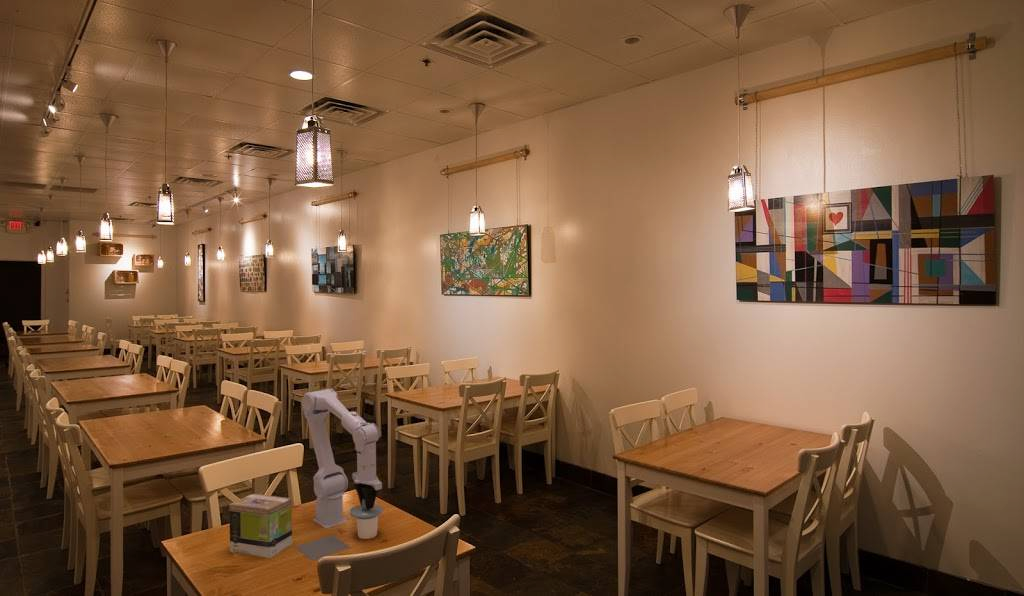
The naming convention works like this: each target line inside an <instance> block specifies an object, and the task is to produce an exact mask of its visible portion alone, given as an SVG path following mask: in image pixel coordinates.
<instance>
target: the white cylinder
mask: <svg viewBox="0 0 1024 596" xmlns="http://www.w3.org/2000/svg"><path fill="white" fill-rule="evenodd" d="M355 519H356V527H357V536H358V538H360V539H361V540H362V539H363V540H369V539H373V538H375V537H376V536H377V535H378V525H379V515H378V516H375V517H371V518H356V517H355Z"/></svg>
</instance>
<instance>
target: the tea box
mask: <svg viewBox="0 0 1024 596" xmlns="http://www.w3.org/2000/svg"><path fill="white" fill-rule="evenodd" d="M228 507H229V509H228V512H229V514H228V515H229V516H228V519H229V552H230V553H233V552H234V553H240V554H244V555H248V556H255V557H261V558H266V559H271V558H272V557H275V556H276V555H277V554H279V553H280V552H283V550H285V549H288V548H289V547H290V546H291V545H293V523H292V522H293V517H292V516H293V515H292V498H290V497H284V496H282V497H281V496H274V495H266V494H259V493H251V494H249V495H246V496H245V497H243V498H240V499H238V500H236V501H234V502H231V503H229V504H228Z"/></svg>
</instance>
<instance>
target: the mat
mask: <svg viewBox="0 0 1024 596" xmlns="http://www.w3.org/2000/svg"><path fill="white" fill-rule="evenodd" d="M350 548H351V546H350V545H348V544H346V543H345V542H344V541H342V540H341V539H340V538H337V537H336V536H334V535H333V534H330V535H326V536H324V537H321V538H318V539H315V540H312V541H311V540H310V541H309V542H305V543H301V544H299V545H297V546H294V549H295V550H297V551H298V552H300V553H301V554H303V555H304V556H305V557H306V558H308V559H309V560H310V561H316V560H318V559H322V558H324V557H323V556H325V557H327V556H330V555H332V554H335V553H338V552H342V551H345V550H347V549H350ZM321 557H322V558H321Z"/></svg>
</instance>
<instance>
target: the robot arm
mask: <svg viewBox="0 0 1024 596" xmlns="http://www.w3.org/2000/svg"><path fill="white" fill-rule="evenodd" d="M301 406H302V410H303V414H304V418H305V419H306V420H307V424H308V428H309V429H308V430H309V433H310V437H311V441H312V446H313V451H314V453H315V457H316V461H317V466H318V470H317V472H316V473H315V474H314V476H313V477H312V479H313V492H314V494H315V496H316V499H315V518H314V519H312V520H313V522H315V523H317V524H318V525H320V526H322V527H323V528H325V529H327V528H331V527H334V526H337V525H340V524H343V523H346V522H348V521H349V520H347V519H346V518H345V517H344V514H343V513H344V507H343V506H344V505H343V496H344V495H345V492H346V490H347V489H348V486H349V481H348V477H347V475H346V473H345V472H344V469H343V467H341V466H340V465H338V464H336V463H335V458H334V453H333V450H332V447H331V441H330V437H329V433H328V430H327V425H326V421H325V418H326V416H327V415H328V414H329V413H331V414H333V415H335V416H336V417H337V418H339V420H341V423H340V424H341V426H342V427H343V428H344V429H345V430H346V431H347V432H348V433H349V434H350V435H352V440H353V443H354V446H355V447H354V449H355V451H356V459H357V460H356V465H357V468H356V469H357V470H356V471H354V472H352V480H353V482H354V483H353V488H354V489H355V491H356V493H357V496H358V499H359V503H360V504H359V505H361V506H362V499H363V498H365V504H366V509H371V508H373V507H374V504H375V502H376V498H377V495H378V493H379V491H380V490H382V489H383V482H382V481H380V480H379V478H378V476H377V443H376V442H378V441H379V439H380V437H381V436H380V435H381V434H380V433H381V432H380V428H379V427H378V426H377V425H376V423H373V422H372V423H370V422H367V421H366V420H365V419H364V418H363V417H361V416H360V415H359V414H358V412H357V411H354V410H353V411H349V410H348V409H347V408H346V407H345V405H344V404H343V403H342V402H341V401H340V400H339V396H338V393H337V392H336V391H335V390H334V389H333V388H326V389H320V390H315V391H310V392H309V391H308V392H305V393H304V394H303V397H302V400H301Z"/></svg>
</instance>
